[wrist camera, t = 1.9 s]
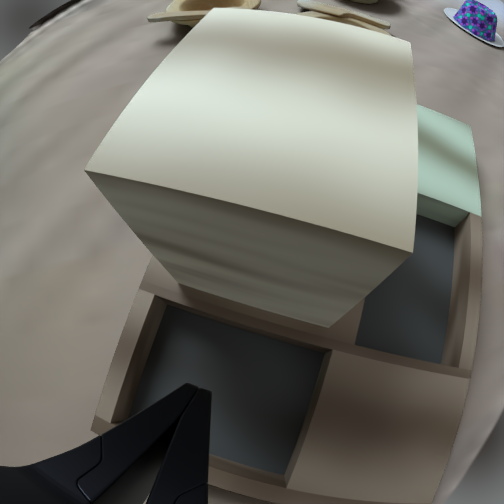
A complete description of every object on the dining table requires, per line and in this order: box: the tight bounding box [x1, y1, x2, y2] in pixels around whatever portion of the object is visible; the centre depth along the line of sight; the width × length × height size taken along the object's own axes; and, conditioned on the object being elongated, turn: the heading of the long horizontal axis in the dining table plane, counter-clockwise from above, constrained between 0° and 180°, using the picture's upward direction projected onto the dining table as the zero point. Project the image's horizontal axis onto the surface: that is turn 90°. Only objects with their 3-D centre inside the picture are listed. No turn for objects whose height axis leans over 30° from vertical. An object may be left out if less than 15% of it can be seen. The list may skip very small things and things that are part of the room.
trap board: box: [91, 105, 482, 504], centre depth 17 cm, size 28×19×6 cm
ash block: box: [84, 8, 418, 328], centre depth 13 cm, size 9×8×10 cm
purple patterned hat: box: [444, 0, 504, 47], centre depth 31 cm, size 12×12×5 cm
